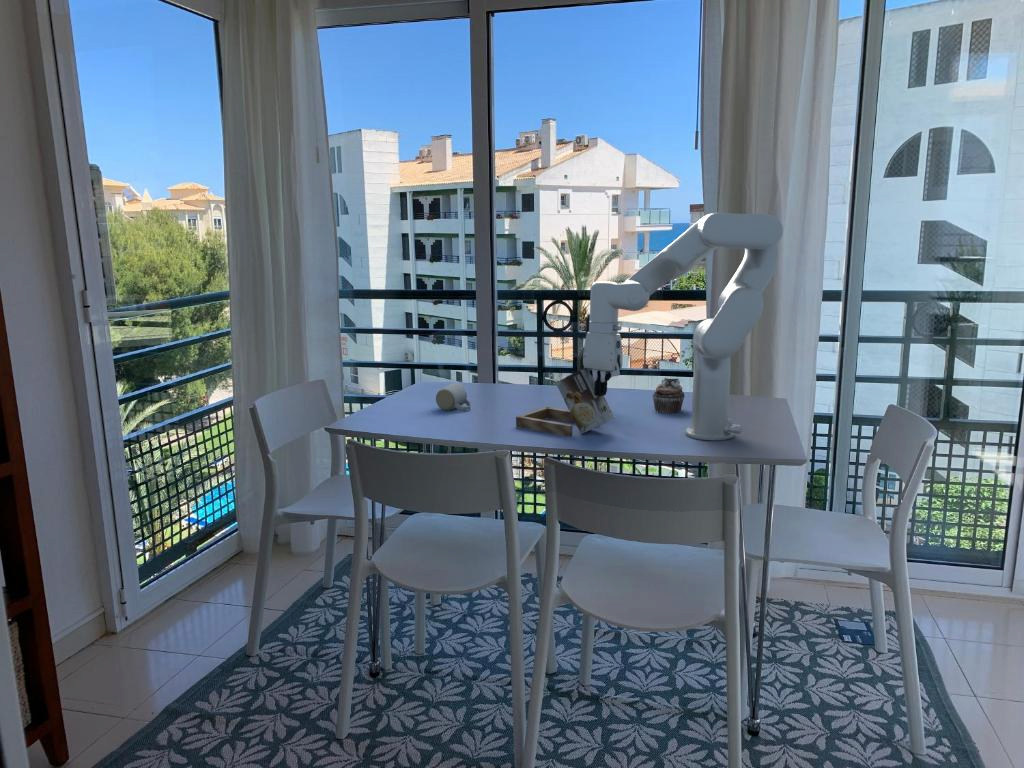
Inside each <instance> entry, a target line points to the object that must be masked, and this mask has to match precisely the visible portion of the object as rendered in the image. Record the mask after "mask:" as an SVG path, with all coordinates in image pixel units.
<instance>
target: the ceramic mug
mask: <svg viewBox="0 0 1024 768" xmlns="http://www.w3.org/2000/svg"><path fill="white" fill-rule="evenodd" d="M435 403H436V405H437V406H438V408H440V410H443V409H444V410H443V411H452V410H455V409H457V410H459V411H462V410H467V409H469V410H471V407H472V403H471V402H470V400H469V399H468V394H467V391H466V389H465V387H464V386H463V385H462V384H460V383H458V382H453V383H450V384H448V385H446V386H445V387H442V388H440V390H438V391H437V392H436V395H435ZM463 405H465V406H463ZM451 409H452V410H451Z"/></svg>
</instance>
